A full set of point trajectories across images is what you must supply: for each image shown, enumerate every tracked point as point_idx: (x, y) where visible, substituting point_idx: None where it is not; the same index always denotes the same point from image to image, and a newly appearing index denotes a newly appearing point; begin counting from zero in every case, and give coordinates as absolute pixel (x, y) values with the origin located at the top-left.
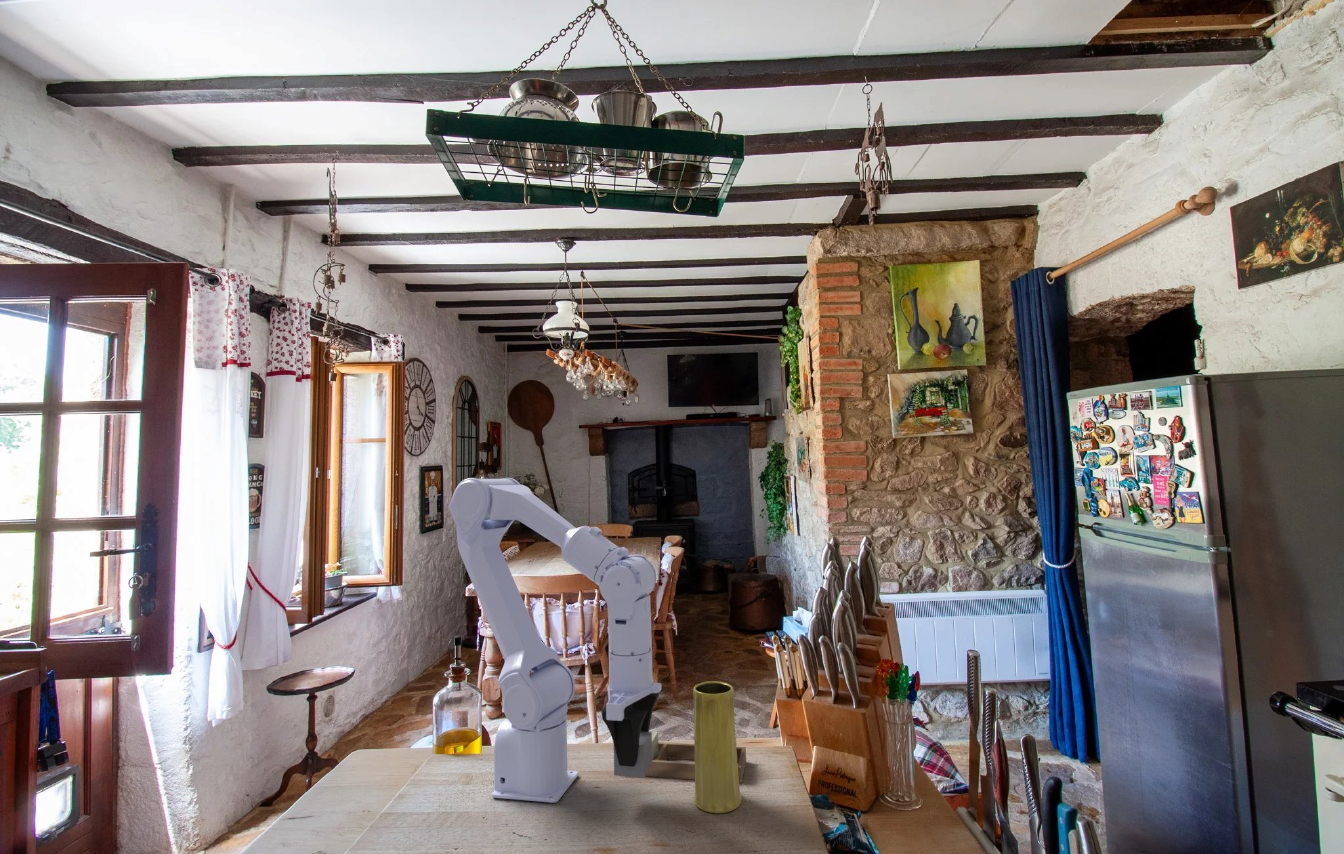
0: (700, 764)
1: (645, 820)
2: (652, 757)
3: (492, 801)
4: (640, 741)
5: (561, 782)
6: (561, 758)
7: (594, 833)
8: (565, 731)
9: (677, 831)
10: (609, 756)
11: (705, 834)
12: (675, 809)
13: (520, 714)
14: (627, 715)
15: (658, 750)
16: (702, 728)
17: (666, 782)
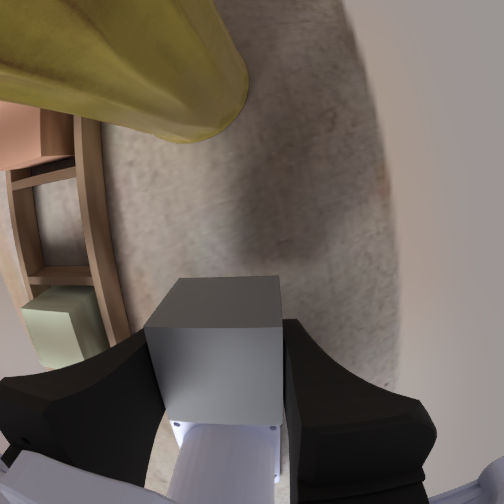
0: (206, 91)
1: (310, 236)
2: (82, 295)
3: (285, 474)
4: (248, 347)
5: (236, 431)
6: (230, 465)
7: (369, 321)
8: (202, 501)
9: (340, 149)
10: None
11: (337, 85)
12: (247, 177)
13: None
14: (422, 475)
15: (41, 291)
16: (182, 19)
17: (132, 237)
